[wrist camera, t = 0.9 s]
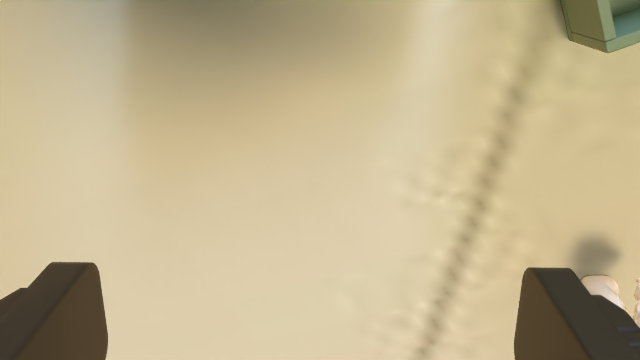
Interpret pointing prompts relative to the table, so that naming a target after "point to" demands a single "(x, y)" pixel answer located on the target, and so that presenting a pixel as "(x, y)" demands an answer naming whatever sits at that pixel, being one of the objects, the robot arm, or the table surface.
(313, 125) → the table surface
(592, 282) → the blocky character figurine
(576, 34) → the bin
